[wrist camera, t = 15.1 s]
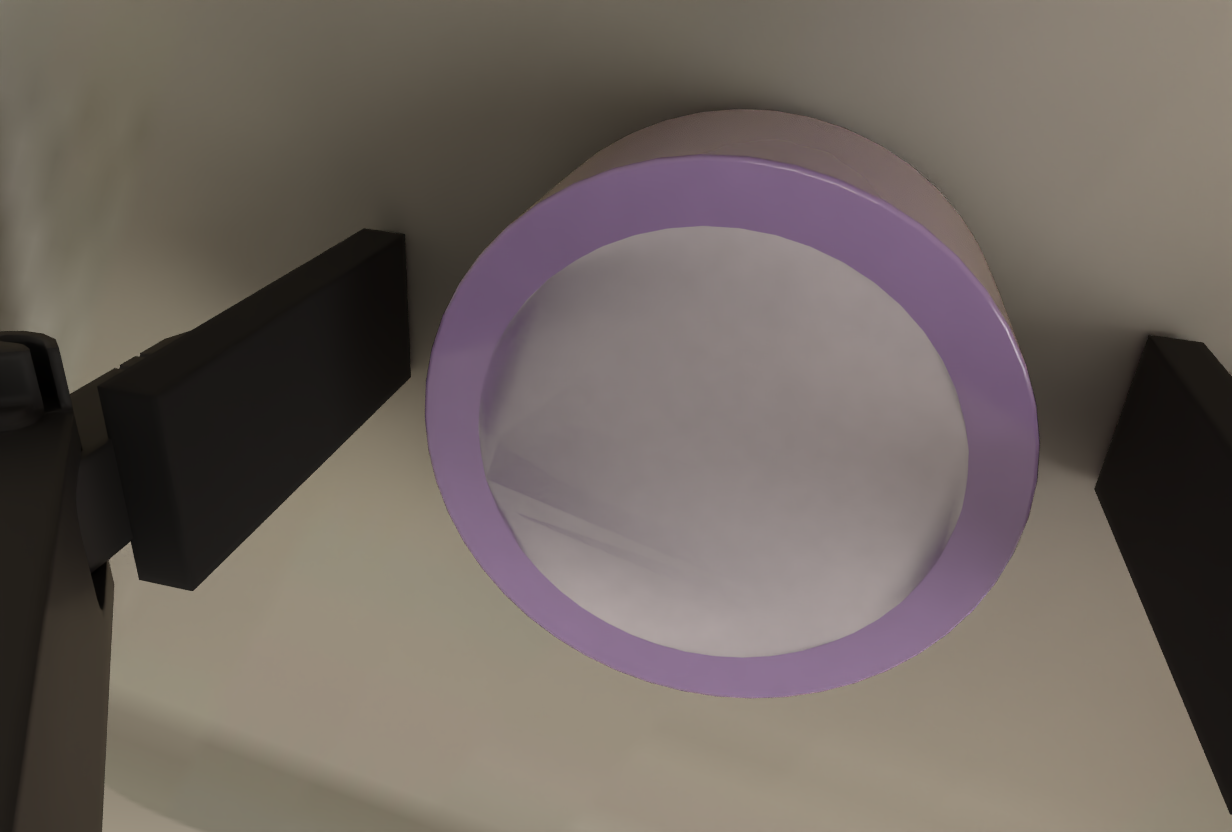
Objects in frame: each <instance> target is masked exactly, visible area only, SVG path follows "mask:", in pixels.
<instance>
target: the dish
mask: <svg viewBox="0 0 1232 832" xmlns="http://www.w3.org/2000/svg"><path fill="white" fill-rule="evenodd" d="M425 423H426V432H427V441H428V450H429V454H430V458H431V462H432V466H433V470H434V474H435V479H436V482H437V485H438V487H439V490H440V493H441V495H442V498H443V500H444V503H445V506H446V508H447V511H448V513H449V515H450V517H451V519H452V521H453V522H454V524H455V526H456V528H457V530H458V532H459V534H460V536H461V538H462V539H463V541H464V543H465V544H466V546H467V547H468V549H469V550H470V552H471V553H472V554H473V556H474V557H475V559H476V560H477V562H478V563H479V565H480V566H481V568H482V569H483V570H484V571H485V572H486V573H487V575H488V576H489V577H490V578H491V579H492V580H493V582H494V583H495V584H496V585H497V586H498V587H499V589H500V590H501V591H502V592H503V593H504V594H505V595H506V596H507V597H508V598H509V599H510V600H511V601H512V602H513V603H514V604H516V605H517V606H518V607H519V608H520V609H521V610H522V611H523V612H524V613H525V614H526V615H527V616H528V617H530V618H531V619H532V620H534V621H535V622H536V623H538V624H539V625H540V626H541V627H543V628H544V629H545V630H547V631H548V632H549V633H551V634H552V635H553V636H555V637H556V638H558V639H559V640H561V641H563V642H564V643H566V644H568V645H569V646H571V647H572V648H574V649H576V650H577V651H579V652H581V653H582V654H584V655H586V656H588V657H590V658H592V659H594V660H596V661H598V662H600V663H602V664H604V665H606V666H608V667H610V668H613V669H615V670H617V671H620V672H622V673H625V674H628V675H631V676H633V677H636V678H639V679H641V680H644V681H647V682H650V683H654V684H658V685H662V686H665V687H669V688H673V689H677V690H681V691H686V692H693V693H699V694H705V695H711V696H720V697H736V698H774V697H789V696H796V695H803V694H810V693H817V692H822V691H826V690H830V689H834V688H838V687H842V686H846V685H850V684H854V683H856V682H859V681H862V680H864V679H867V678H869V677H872V676H875V675H877V674H880V673H883V672H885V671H888V670H889V669H891V668H893V667H895V666H897V665H899V664H901V663H903V662H905V661H907V660H909V659H911V658H912V657H914V656H916V655H918V654H920V653H921V652H922V651H924V650H925V649H927V648H928V647H930V646H931V645H932V644H934V643H935V642H937V641H938V640H940V639H941V638H943V637H944V636H945V635H947V634H948V633H949V632H950V631H951V630H952V629H953V628H954V627H956V626H957V625H958V624H959V623H960V622H961V621H962V620H963V619H964V618H965V617H967V616H968V615H969V614H970V613H971V612H972V611H973V610H974V609H975V607H976V606H977V605H978V604H979V603H980V601H981V600H982V599H983V598H984V597H985V595H986V594H987V593H988V592H989V591H990V589H991V588H992V587H993V586H994V585H995V583H996V582H997V580H998V578H999V577H1000V575H1001V573H1002V572H1003V570H1004V568H1005V567H1006V565H1007V563H1008V562H1009V560H1010V558H1011V557H1012V555H1013V553H1014V552H1015V550H1016V547H1017V545H1018V542H1019V540H1020V538H1021V535H1022V533H1023V530H1024V528H1025V525H1026V523H1027V521H1028V518H1029V514H1030V510H1031V506H1032V502H1033V497H1034V493H1035V489H1036V485H1037V478H1038V465H1039V451H1040V438H1039V426H1038V415H1037V404H1036V400H1035V397H1034V393H1033V389H1032V385H1031V381H1030V377H1029V373H1028V369H1027V365H1026V362H1025V360H1024V357H1023V355H1022V352H1021V349H1020V347H1019V344H1018V341H1017V339H1016V336H1015V333H1014V331H1013V328H1012V325H1011V323H1010V320H1009V318H1008V315H1007V312H1006V310H1005V307H1004V304H1003V302H1002V299H1001V296H1000V294H999V291H998V288H997V286H996V283H995V281H994V278H993V276H992V273H991V271H990V269H989V266H988V264H987V262H986V259H985V257H984V255H983V252H982V250H981V248H980V246H979V244H978V243H977V241H976V240H975V238H974V236H973V235H972V233H971V232H970V230H969V228H968V227H967V225H966V223H965V222H964V220H963V219H962V217H961V216H960V215H959V214H958V212H957V211H956V210H955V209H954V208H953V206H952V205H951V204H950V203H949V202H948V201H947V199H946V198H945V197H944V196H943V195H942V193H941V192H940V191H939V190H938V189H937V188H936V187H935V186H934V185H932V184H931V183H930V182H929V181H928V180H927V179H926V178H925V177H923V176H922V175H921V174H920V173H919V172H918V171H917V170H916V169H914V168H913V167H912V166H911V165H910V164H908V163H907V162H905V161H904V160H902V159H901V158H899V157H898V156H896V155H895V154H893V153H892V152H890V151H888V150H887V149H885V148H884V147H882V146H881V145H879V144H877V143H875V142H873V141H871V140H869V139H867V138H865V137H863V136H861V135H858V134H856V133H854V132H852V131H850V130H848V129H846V128H843V127H840V126H837V125H834V124H830V123H827V122H824V121H821V120H818V119H815V118H812V117H808V116H802V115H796V114H790V113H785V112H779V111H773V110H750V109H729V110H719V111H709V112H699V113H694V114H690V115H686V116H682V117H677V118H673V119H669V120H665V121H661V122H659V123H656V124H654V125H651V126H649V127H646V128H644V129H641V130H638V131H636V132H633V133H631V134H629V135H627V136H625V137H623V138H622V139H620V140H618V141H616V142H614V143H613V144H611V145H609V146H607V147H606V148H604V149H602V150H600V151H599V152H597V153H596V154H595V155H594V156H592V157H591V158H590V159H588V160H587V161H586V162H584V163H583V164H582V165H580V166H579V167H578V168H577V169H575V170H574V171H573V172H571V173H570V174H569V175H568V176H567V177H566V178H564V179H563V180H562V181H561V182H560V183H558V184H557V185H556V186H555V187H554V188H552V189H551V190H550V191H549V192H548V193H546V194H545V195H544V196H543V197H542V198H540V199H539V200H538V201H537V202H536V203H534V204H533V205H532V206H531V207H530V208H528V209H527V210H526V211H525V212H524V213H522V214H521V215H520V216H519V217H518V218H516V219H515V220H514V221H513V222H512V223H510V224H509V225H508V226H507V227H506V228H505V229H504V230H503V231H502V232H501V233H500V234H499V235H498V236H497V237H496V238H495V239H494V240H493V241H492V242H491V243H490V244H489V245H488V246H487V247H486V248H485V249H484V251H483V252H482V253H481V254H480V255H479V256H478V258H477V259H476V260H475V262H474V263H473V265H472V266H471V267H470V269H469V270H468V272H467V273H466V274H465V276H464V277H463V279H462V280H461V281H460V283H459V284H458V286H457V288H456V290H455V292H454V294H453V296H452V298H451V300H450V302H449V304H448V306H447V308H446V310H445V312H444V314H443V316H442V319H441V322H440V325H439V328H438V331H437V334H436V337H435V340H434V343H433V346H432V350H431V356H430V361H429V367H428V373H427V378H426V395H425Z"/></svg>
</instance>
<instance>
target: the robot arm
mask: <svg viewBox="0 0 1232 832" xmlns="http://www.w3.org/2000/svg"><path fill="white" fill-rule="evenodd" d="M410 377H411V368H410V345H409V322H408V299H407V277H406V254H405V234H400V233H393V232H386V231H378V230H371V229H362V230H361V231H359V232H357V233H355V234H354V235H352V236H350V237H349V238H347V239H345V240H344V241H342V242H340V243H339V244H337V245H335V246H333V247H332V248H330V249H328V250H327V251H325V252H323V253H322V254H320V255H318V256H317V257H315V258H313V259H311V260H310V261H308V262H306V263H305V264H303V265H301V266H300V267H298V268H296V269H295V270H293V271H291V272H289V273H288V274H286V275H284V276H283V277H281V278H279V279H278V280H276V281H274V282H272V283H271V284H269V285H267V286H266V287H264V288H262V289H261V290H259V291H257V292H256V293H254V294H252V295H250V296H249V297H247V298H245V299H244V300H242V301H240V302H239V303H237V304H235V305H234V306H232V307H230V308H228V309H227V310H225V311H223V312H222V313H220V314H218V315H217V316H215V317H213V318H212V319H210V320H208V321H206V322H205V323H203V324H201V325H200V326H198V327H196V328H195V329H193V330H191V331H188V332H185V333H182V334H179V335H176V336H172V337H169V338H166V339H164V340H162V341H161V342H159V343H157V344H155V345H154V346H152V347H150V348H148V349H147V350H145V351H143V352H142V353H140V357H138V356H135V357H133V358H131V359H130V360H128V361H126V362H124V363H123V364H121V365H120V368H119V369H117V368H114V369H112V370H111V371H109V372H107V373H105V374H104V375H102V376H100V377H99V378H97V379H95V380H93V381H92V382H90V383H88V384H86V385H85V386H83V387H81V388H80V389H78V390H76V391H74V392H73V393H71V394H70V393H69V389H68V385H67V381H66V376H65V372H64V368H63V364H62V359H61V355H60V351H59V347H58V344H57V342H56V339H54V338H52V337H49V336H47V335H45V334H42V333H35V332H28V331H0V832H102V819H103V798H104V779H105V759H106V739H107V719H108V699H109V679H110V660H111V640H112V620H113V600H114V581H113V577H112V573H111V569H110V564H109V559H110V558H111V557H112V556H113V555H115V554H116V553H117V552H118V551H119V550H121V549H122V548H123V547H124V546H125V545H127V544H128V543H129V542H130V541H131V545H132V549H133V554H134V558H135V563H136V568H137V572H138V577H139V580H143V581H147V582H152V583H157V584H161V585H166V586H171V587H175V588H180V589H185V590H189V591H194V590H195V589H196V588H197V587H198V586H199V585H200V584H201V583H202V582H203V581H204V580H205V579H206V578H207V577H208V576H209V575H210V574H211V573H212V572H213V571H214V570H215V569H216V568H217V567H218V566H219V565H220V564H221V563H222V562H223V561H224V560H225V559H226V558H227V557H228V556H229V555H230V554H231V553H232V552H233V551H234V550H235V549H236V548H237V547H238V546H239V545H240V544H241V543H242V542H243V541H244V540H245V539H246V538H247V537H249V536H250V535H251V534H252V533H253V532H254V531H255V530H256V529H257V528H258V527H259V526H260V525H261V524H262V523H263V522H264V521H265V520H266V519H267V518H268V517H269V516H270V515H271V514H272V513H273V512H274V511H275V510H276V509H277V508H278V507H279V506H280V505H281V504H282V503H283V502H284V501H285V500H286V499H287V498H288V497H289V496H290V495H291V494H292V493H293V492H294V491H295V490H296V489H297V488H298V487H299V486H300V485H301V484H302V483H303V482H305V481H306V480H307V479H308V478H309V477H310V476H311V475H312V474H313V473H314V472H315V471H316V470H317V469H318V468H319V467H320V466H321V465H322V464H323V463H324V462H325V461H326V460H327V459H328V458H329V457H330V456H331V455H332V454H333V453H334V452H335V451H336V450H337V449H338V448H339V447H340V446H341V445H342V444H343V443H344V442H345V441H346V440H347V439H348V438H349V437H350V436H351V435H352V434H353V433H354V432H355V431H356V430H357V429H358V428H359V427H360V426H362V425H363V424H364V423H365V422H366V421H367V420H368V419H369V418H370V417H371V416H372V415H373V414H374V413H375V412H376V411H377V410H378V409H379V408H380V407H381V406H382V405H383V404H384V403H385V402H386V401H387V400H388V399H389V398H390V397H391V396H392V395H393V394H394V393H395V392H396V391H397V390H398V389H399V388H400V387H401V386H402V385H403V384H404V383H405V382H406V381H407V380H408V379H409V378H410ZM1094 489H1095V492H1096V494H1097V497H1098V499H1099V501H1100V504H1101V506H1102V509H1103V511H1104V513H1105V516H1106V518H1107V521H1108V523H1109V525H1110V528H1111V530H1112V532H1113V535H1114V537H1115V540H1116V542H1117V544H1118V547H1119V549H1120V552H1121V554H1122V556H1123V559H1124V561H1125V564H1126V566H1127V568H1128V571H1129V573H1130V576H1131V578H1132V580H1133V583H1134V585H1135V588H1136V590H1137V592H1138V595H1139V597H1140V600H1141V602H1142V604H1143V607H1144V609H1145V611H1146V614H1147V616H1148V619H1149V621H1150V623H1151V626H1152V628H1153V631H1154V633H1155V635H1156V638H1157V640H1158V643H1159V645H1160V647H1161V650H1162V652H1163V655H1164V657H1165V659H1166V662H1167V664H1168V667H1169V669H1170V671H1171V674H1172V676H1173V678H1174V681H1175V683H1176V686H1177V688H1178V690H1179V693H1180V695H1181V698H1182V700H1183V702H1184V705H1185V707H1186V710H1187V712H1188V714H1189V717H1190V719H1191V722H1192V724H1193V726H1194V729H1195V731H1196V734H1197V736H1198V738H1199V741H1200V743H1201V746H1202V748H1203V750H1204V753H1205V755H1206V757H1207V760H1208V762H1209V765H1210V767H1211V769H1212V772H1213V774H1214V777H1215V779H1216V781H1217V784H1218V786H1219V789H1220V791H1221V793H1222V796H1223V798H1224V801H1225V803H1226V805H1227V808H1228V810H1229V813H1230V814H1232V376H1231V375H1230V374H1229V373H1228V372H1227V370H1226V369H1225V368H1224V367H1223V366H1222V364H1221V363H1220V362H1219V361H1218V360H1217V358H1216V357H1215V356H1214V355H1213V354H1212V352H1211V351H1210V350H1209V349H1208V348H1207V346H1206V345H1205V344H1204V343H1202V342H1195V341H1188V340H1180V339H1173V338H1166V337H1158V336H1151V335H1149V336H1148V339H1147V342H1146V345H1145V347H1144V350H1143V353H1142V356H1141V359H1140V362H1139V364H1138V367H1137V370H1136V373H1135V376H1134V378H1133V381H1132V384H1131V387H1130V390H1129V393H1128V395H1127V398H1126V401H1125V404H1124V407H1123V409H1122V412H1121V415H1120V418H1119V421H1118V424H1117V426H1116V429H1115V432H1114V435H1113V438H1112V440H1111V443H1110V446H1109V449H1108V452H1107V455H1106V457H1105V460H1104V463H1103V466H1102V469H1101V471H1100V474H1099V477H1098V480H1097V483H1096V486H1095V488H1094Z"/></svg>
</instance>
